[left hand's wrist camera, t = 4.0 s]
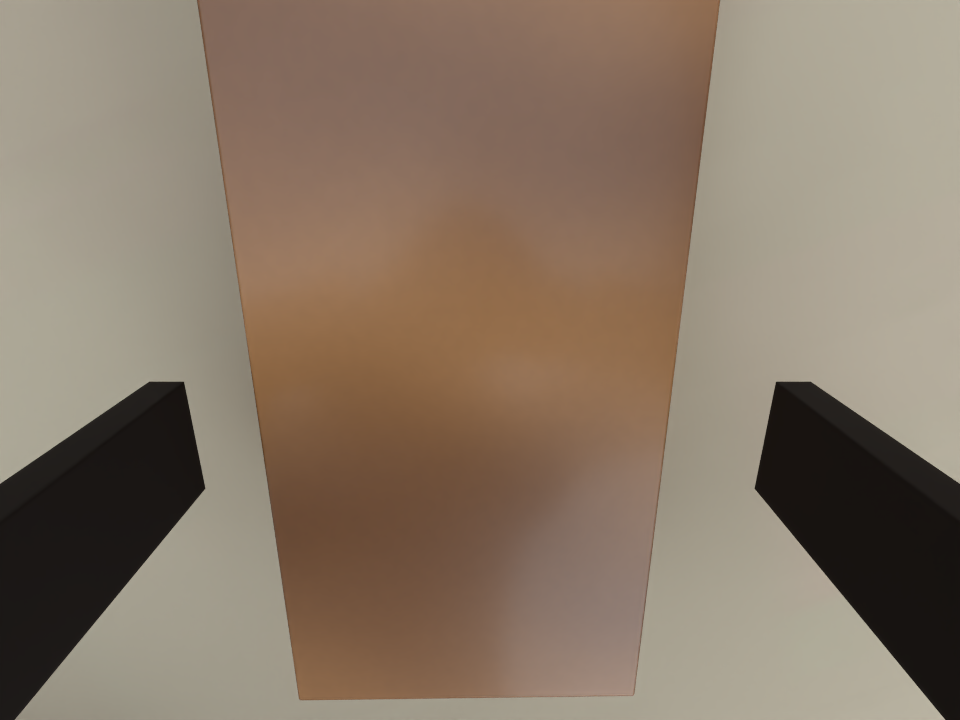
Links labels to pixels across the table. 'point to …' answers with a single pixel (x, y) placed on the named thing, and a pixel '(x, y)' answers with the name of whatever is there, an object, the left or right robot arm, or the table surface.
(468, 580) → the slab
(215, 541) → the table surface
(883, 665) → the table surface
